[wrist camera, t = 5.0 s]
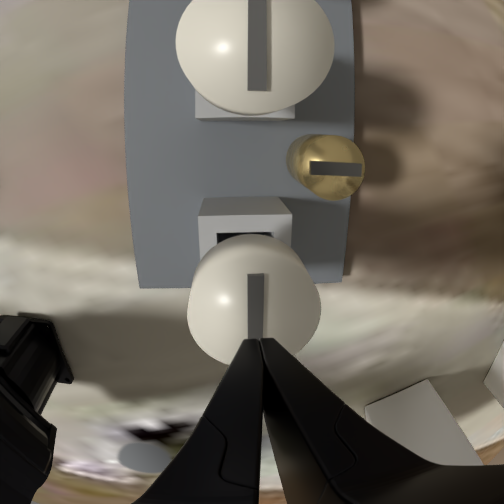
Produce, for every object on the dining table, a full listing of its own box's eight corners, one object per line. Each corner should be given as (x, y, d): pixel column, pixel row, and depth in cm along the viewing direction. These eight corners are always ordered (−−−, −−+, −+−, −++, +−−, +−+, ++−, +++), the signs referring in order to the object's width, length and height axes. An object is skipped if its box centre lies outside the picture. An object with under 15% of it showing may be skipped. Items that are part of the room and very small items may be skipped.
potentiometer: (335, 186, 18) (365, 202, 14) (285, 185, 18) (303, 201, 14) (337, 135, 17) (369, 138, 13) (286, 132, 17) (305, 133, 13)
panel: (336, 275, 21) (364, 314, 17) (143, 281, 20) (123, 323, 16) (339, -58, 13) (365, -93, 8) (143, -62, 12) (125, -99, 7)
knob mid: (294, 121, 13) (336, 116, 8) (194, 121, 13) (173, 114, 8) (294, 30, 12) (332, -19, 6) (195, 29, 11) (178, -25, 6)
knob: (288, 293, 16) (314, 366, 11) (201, 296, 16) (193, 372, 11) (292, 209, 15) (329, 254, 10) (196, 211, 14) (180, 258, 9)
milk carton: (363, 405, 27) (433, 572, 9) (426, 377, 27) (517, 522, 9) (367, 439, 30) (420, 578, 12) (423, 414, 29) (490, 540, 12)
